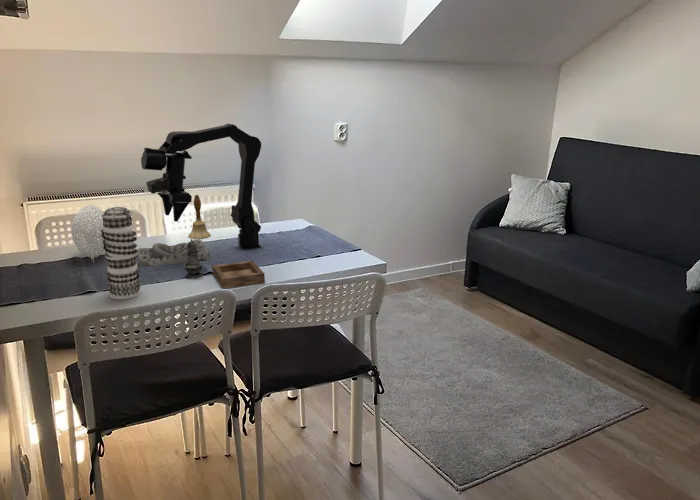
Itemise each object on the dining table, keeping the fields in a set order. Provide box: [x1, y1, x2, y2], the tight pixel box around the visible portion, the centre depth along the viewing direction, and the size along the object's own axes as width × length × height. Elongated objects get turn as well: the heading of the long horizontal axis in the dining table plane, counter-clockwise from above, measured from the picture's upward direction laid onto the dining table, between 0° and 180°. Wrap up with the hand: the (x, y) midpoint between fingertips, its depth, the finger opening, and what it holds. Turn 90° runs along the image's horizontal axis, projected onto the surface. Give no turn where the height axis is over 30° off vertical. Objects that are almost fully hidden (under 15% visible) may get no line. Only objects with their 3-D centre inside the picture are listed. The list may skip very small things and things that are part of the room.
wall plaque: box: [135, 239, 211, 267], centre depth 207 cm, size 24×19×4 cm
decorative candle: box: [100, 206, 142, 300], centre depth 170 cm, size 9×9×25 cm
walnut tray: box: [211, 260, 266, 289], centre depth 186 cm, size 13×13×3 cm
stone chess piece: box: [183, 238, 204, 279], centre depth 187 cm, size 6×6×12 cm
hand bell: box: [188, 194, 212, 240], centre depth 227 cm, size 8×8×16 cm
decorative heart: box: [70, 204, 105, 263], centre depth 201 cm, size 18×11×17 cm, turn 13°
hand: (171, 218), depth 199 cm, fingers open, 9 cm apart
